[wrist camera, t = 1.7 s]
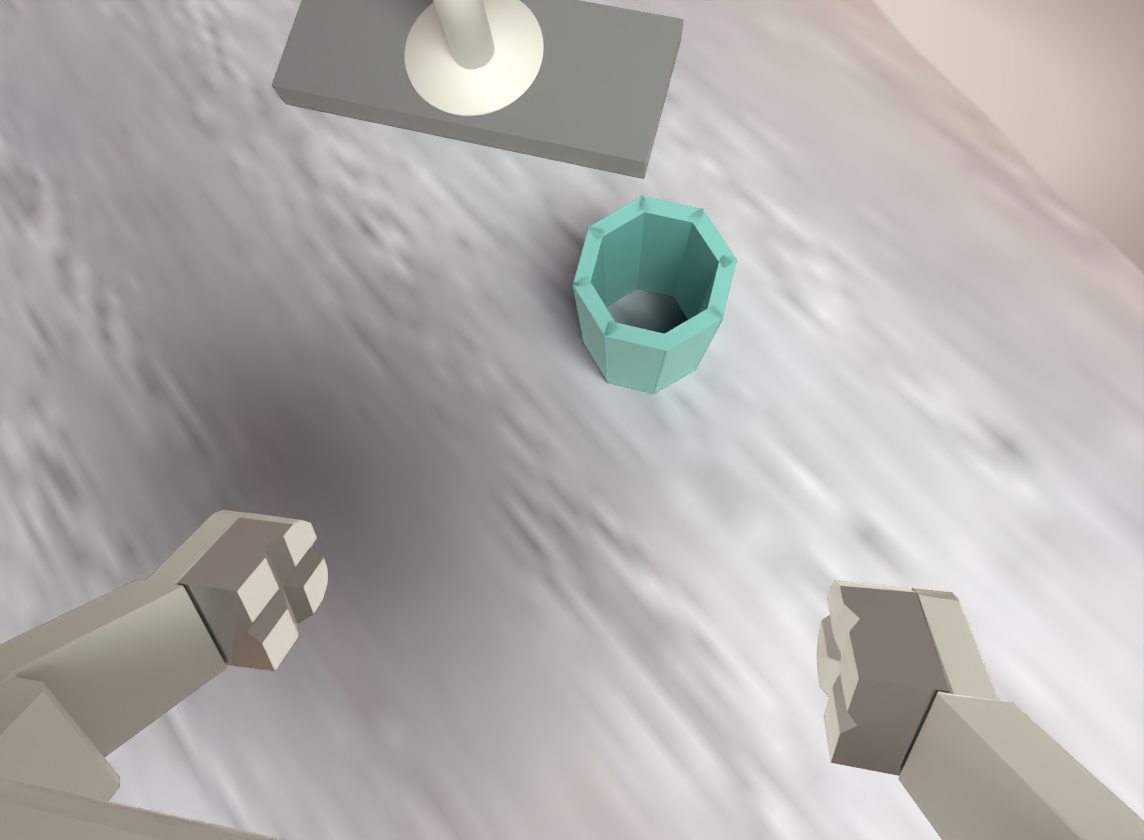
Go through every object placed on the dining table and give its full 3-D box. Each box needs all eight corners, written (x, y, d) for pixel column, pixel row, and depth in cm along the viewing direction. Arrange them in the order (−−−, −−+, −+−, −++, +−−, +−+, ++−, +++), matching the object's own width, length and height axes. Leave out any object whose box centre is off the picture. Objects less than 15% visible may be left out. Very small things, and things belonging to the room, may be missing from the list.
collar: (574, 375, 31) (560, 326, 23) (603, 268, 32) (599, 186, 24) (687, 402, 31) (712, 362, 23) (714, 293, 31) (747, 217, 23)
